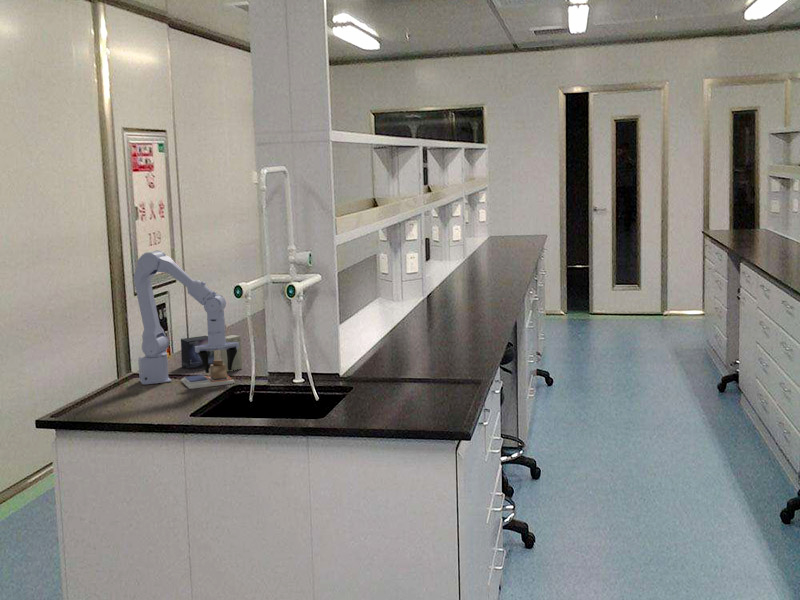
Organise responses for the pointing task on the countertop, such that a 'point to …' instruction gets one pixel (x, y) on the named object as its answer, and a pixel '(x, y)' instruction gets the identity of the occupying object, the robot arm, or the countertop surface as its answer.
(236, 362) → the skincare box
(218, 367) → the stamp
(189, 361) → the small box
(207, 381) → the board
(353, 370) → the countertop surface
